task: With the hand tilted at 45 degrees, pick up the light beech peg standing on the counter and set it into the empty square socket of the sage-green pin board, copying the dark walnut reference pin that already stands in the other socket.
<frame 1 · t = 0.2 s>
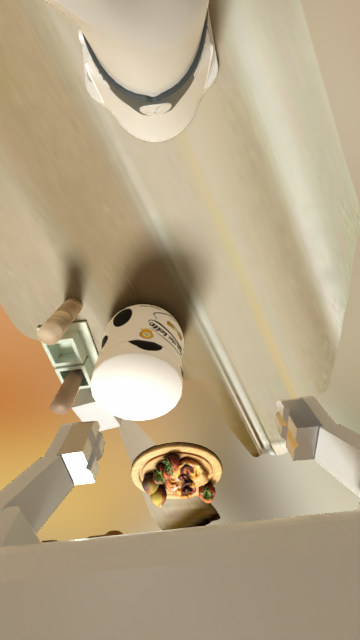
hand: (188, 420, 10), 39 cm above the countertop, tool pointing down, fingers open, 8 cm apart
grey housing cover: (103, 395, 63), on the countertop
beech peg: (73, 305, 50), on the countertop
pin board: (74, 352, 55), on the countertop
wooden plate with food: (176, 467, 82), on the countertop
milk container: (145, 332, 54), on the countertop
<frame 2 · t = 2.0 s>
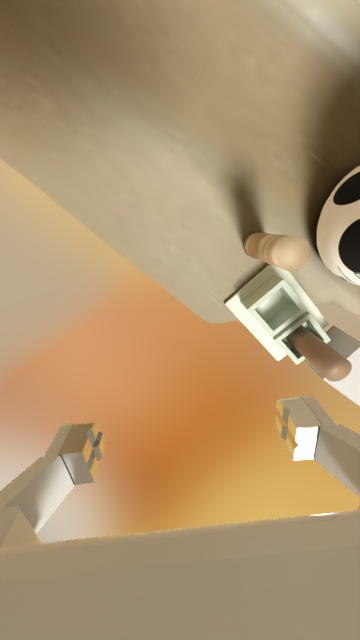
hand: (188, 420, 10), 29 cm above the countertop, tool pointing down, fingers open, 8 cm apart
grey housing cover: (333, 354, 44), on the countertop
beech peg: (255, 244, 36), on the countertop
pin board: (277, 313, 40), on the countertop
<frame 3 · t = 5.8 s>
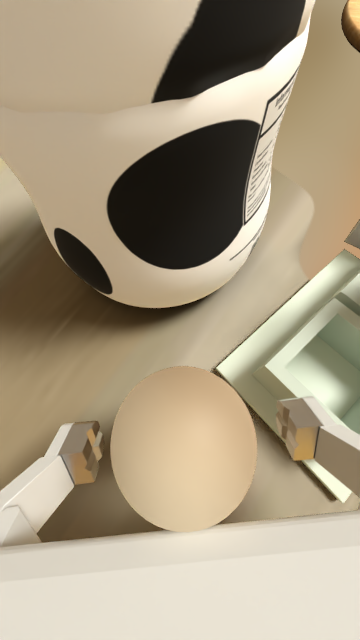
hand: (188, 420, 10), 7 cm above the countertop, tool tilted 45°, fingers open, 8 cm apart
beech peg: (190, 421, 17), on the countertop
pin board: (339, 353, 18), on the countertop
milk container: (164, 243, 23), on the countertop
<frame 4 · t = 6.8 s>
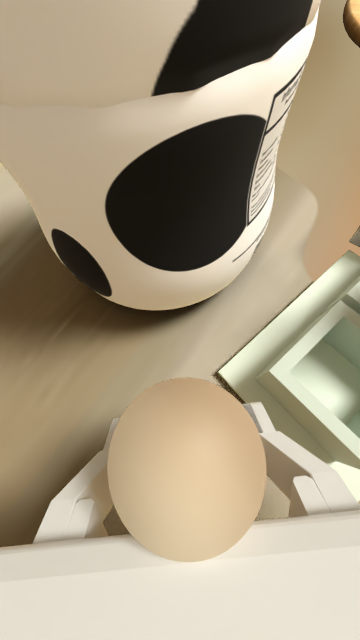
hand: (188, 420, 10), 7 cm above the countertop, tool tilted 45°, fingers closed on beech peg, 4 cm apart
beech peg: (191, 426, 16), on the countertop, touching gripper
pin board: (344, 357, 17), on the countertop
milk container: (164, 243, 23), on the countertop
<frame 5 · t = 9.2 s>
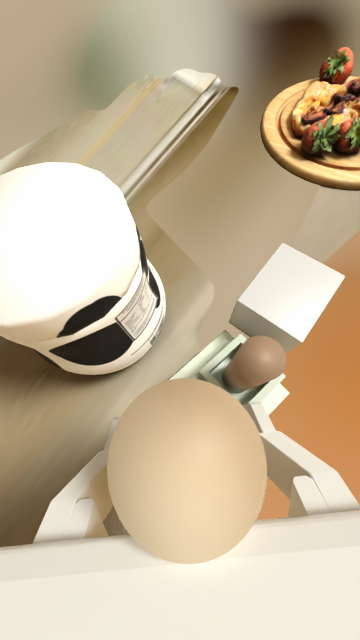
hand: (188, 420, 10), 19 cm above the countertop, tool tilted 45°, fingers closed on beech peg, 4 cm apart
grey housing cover: (272, 312, 33), on the countertop
beech peg: (191, 427, 16), point 13 cm above the countertop, touching gripper
pin board: (210, 402, 29), on the countertop
wooden plate with food: (339, 136, 47), on the countertop
milk container: (111, 319, 34), on the countertop
when the fingers open (9 cm above the countertop, at t = 11.9 s): beech peg drops 1 cm, resting on pin board.
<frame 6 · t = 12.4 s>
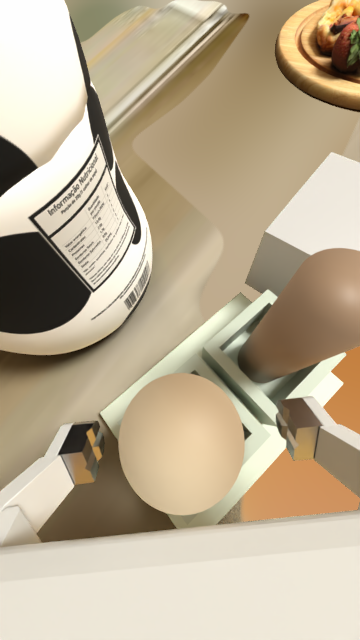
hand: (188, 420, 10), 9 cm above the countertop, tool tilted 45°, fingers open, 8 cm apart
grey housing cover: (307, 269, 23), on the countertop
beech peg: (191, 425, 18), point 1 cm above the countertop, touching pin board
pin board: (219, 398, 19), on the countertop
milk container: (77, 282, 24), on the countertop
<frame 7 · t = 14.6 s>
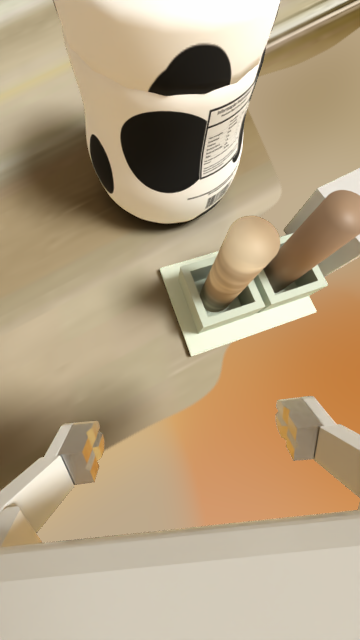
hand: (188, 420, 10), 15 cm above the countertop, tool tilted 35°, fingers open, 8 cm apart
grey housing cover: (329, 238, 31), on the countertop
beech peg: (214, 297, 27), point 1 cm above the countertop, touching pin board
pin board: (236, 291, 28), on the countertop
milk container: (165, 180, 31), on the countertop
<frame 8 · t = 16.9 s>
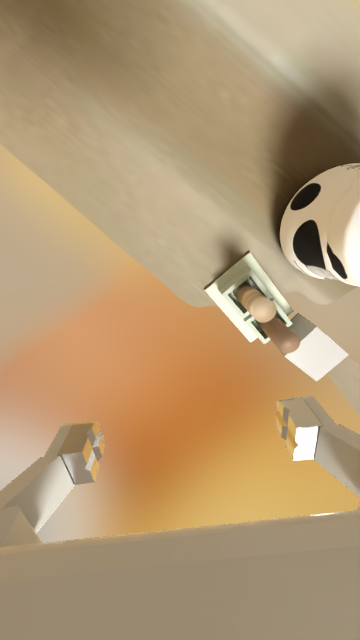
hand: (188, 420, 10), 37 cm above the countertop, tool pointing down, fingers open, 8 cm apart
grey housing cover: (298, 338, 52), on the countertop
beech peg: (241, 290, 46), point 1 cm above the countertop, touching pin board
pin board: (249, 300, 48), on the countertop
milk container: (319, 225, 43), on the countertop
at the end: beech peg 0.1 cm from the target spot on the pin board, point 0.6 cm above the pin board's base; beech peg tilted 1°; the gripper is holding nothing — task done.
